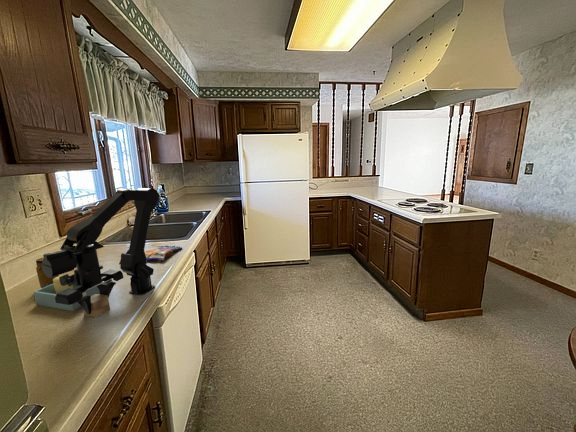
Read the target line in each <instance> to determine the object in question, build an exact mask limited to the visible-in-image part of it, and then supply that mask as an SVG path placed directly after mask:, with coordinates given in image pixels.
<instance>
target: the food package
mask: <svg viewBox="0 0 576 432" xmlns="http://www.w3.org/2000/svg"><path fill="white" fill-rule="evenodd" d="M182 250H183V247H182V246H176V245H171V246H169V245H162V246H161V245H160V246H157V247H151V248H150V249H147V250H144V252H145V255H146V258H147V263H151V262H157V263H161V262H164V261H166V260H169V258H170V257H172V256H173V255H174V254H176V253H178V252H180V251H182Z"/></svg>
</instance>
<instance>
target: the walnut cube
mask: <svg viewBox="0 0 576 432" xmlns="http://www.w3.org/2000/svg"><path fill="white" fill-rule="evenodd" d="M109 310H111V306H110V301H109V298H108V295H101V294H95V295H93V296H91V314H87V313H86V312H85V310H84V309H83V308H82V311H83V316H85V317H92V318H98V317H99V316H101V315H103V314H105V313H106V312H108V311H109Z"/></svg>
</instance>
